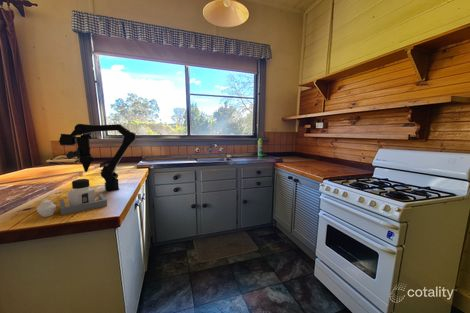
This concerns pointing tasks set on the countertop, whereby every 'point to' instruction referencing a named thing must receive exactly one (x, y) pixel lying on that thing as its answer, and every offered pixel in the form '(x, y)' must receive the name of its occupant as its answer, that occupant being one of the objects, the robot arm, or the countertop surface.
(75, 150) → the robot arm
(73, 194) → the container
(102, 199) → the display bay
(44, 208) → the white rounded lump
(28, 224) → the countertop surface
